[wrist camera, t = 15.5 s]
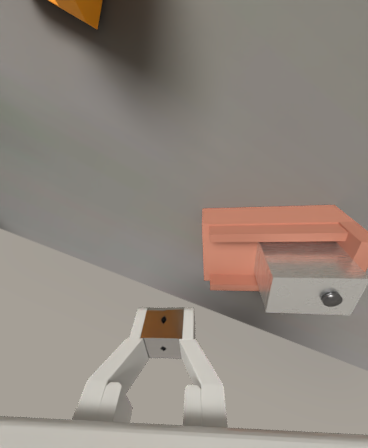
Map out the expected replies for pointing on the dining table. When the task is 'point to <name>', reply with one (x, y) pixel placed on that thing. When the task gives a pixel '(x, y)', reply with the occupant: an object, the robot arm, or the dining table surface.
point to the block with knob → (308, 278)
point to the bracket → (82, 9)
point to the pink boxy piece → (270, 238)
